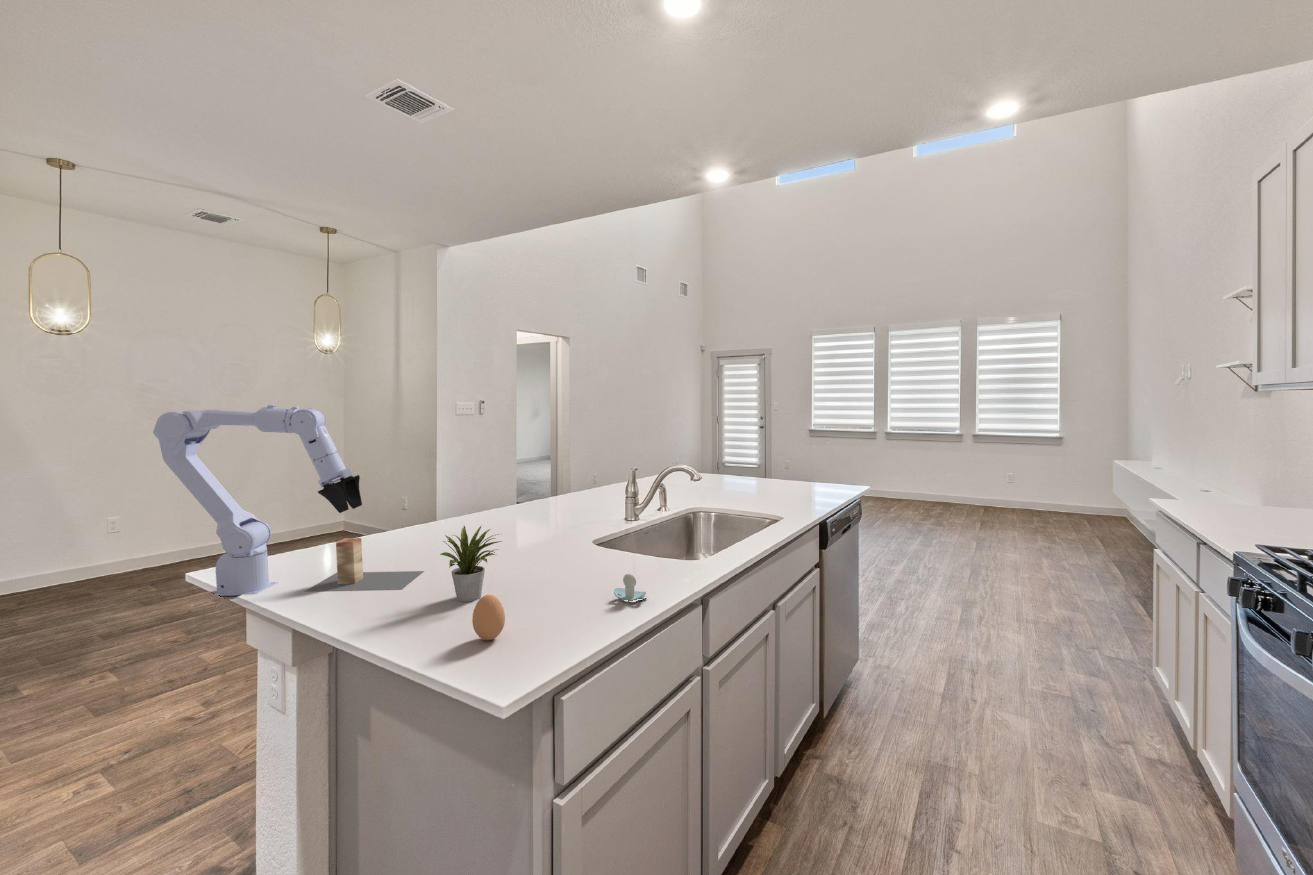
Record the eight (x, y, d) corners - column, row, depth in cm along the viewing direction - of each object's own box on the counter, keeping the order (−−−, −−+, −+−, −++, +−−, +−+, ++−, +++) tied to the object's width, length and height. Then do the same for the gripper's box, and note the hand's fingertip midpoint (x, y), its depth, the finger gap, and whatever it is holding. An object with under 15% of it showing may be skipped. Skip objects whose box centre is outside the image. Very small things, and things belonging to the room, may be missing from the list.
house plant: (480, 613, 116) (478, 535, 115) (420, 609, 119) (417, 533, 117) (512, 590, 130) (510, 520, 129) (457, 587, 132) (455, 518, 131)
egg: (511, 638, 104) (510, 594, 103) (483, 649, 99) (482, 602, 99) (494, 630, 108) (493, 587, 107) (466, 639, 103) (465, 595, 103)
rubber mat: (304, 593, 129) (304, 591, 129) (336, 574, 143) (336, 572, 143) (401, 591, 130) (401, 589, 129) (424, 572, 143) (424, 571, 143)
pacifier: (623, 594, 128) (610, 602, 122) (623, 566, 128) (610, 573, 122) (652, 598, 125) (641, 606, 119) (652, 570, 125) (641, 577, 119)
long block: (337, 583, 134) (335, 542, 133) (346, 578, 138) (344, 538, 137) (354, 583, 134) (353, 542, 133) (363, 578, 138) (361, 538, 137)
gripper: (354, 445, 131) (379, 497, 133) (329, 456, 140) (354, 506, 142) (324, 455, 126) (351, 510, 127) (300, 467, 135) (326, 518, 136)
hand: (350, 509), depth 134 cm, fingers open, 7 cm apart
